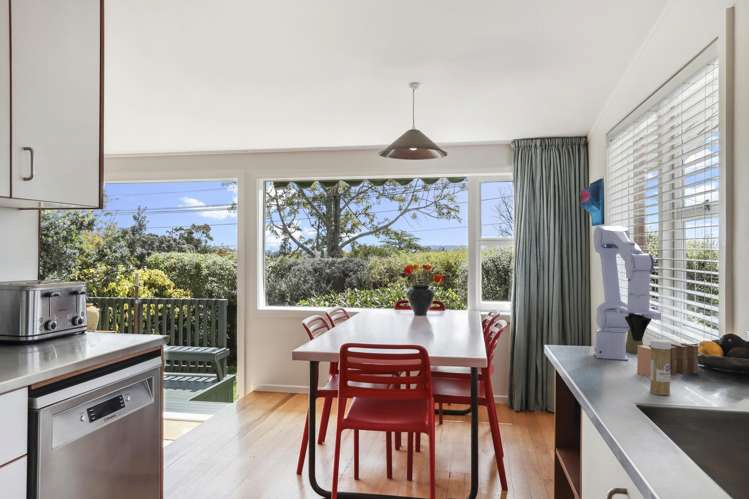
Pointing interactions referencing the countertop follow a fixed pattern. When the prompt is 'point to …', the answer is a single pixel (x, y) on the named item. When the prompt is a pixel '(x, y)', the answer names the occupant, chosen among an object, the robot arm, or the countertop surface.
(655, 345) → the toothpick jar
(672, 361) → the domino
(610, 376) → the countertop surface
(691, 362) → the domino
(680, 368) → the domino
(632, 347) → the cork
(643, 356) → the domino
